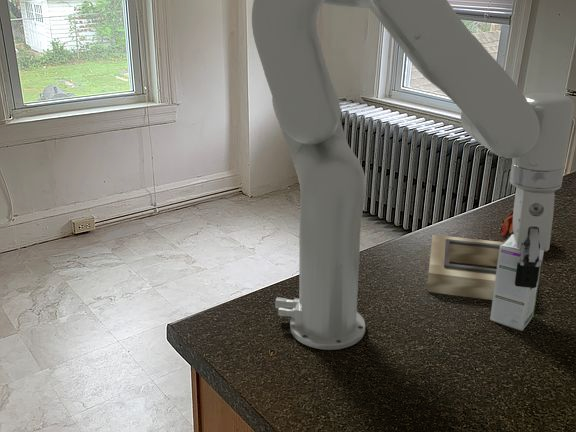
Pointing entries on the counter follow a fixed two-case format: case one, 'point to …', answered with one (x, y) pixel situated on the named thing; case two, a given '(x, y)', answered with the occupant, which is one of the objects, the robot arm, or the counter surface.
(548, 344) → the counter surface
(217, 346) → the counter surface
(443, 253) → the socket block
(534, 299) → the syrup box
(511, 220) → the dragon fruit
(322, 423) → the counter surface
